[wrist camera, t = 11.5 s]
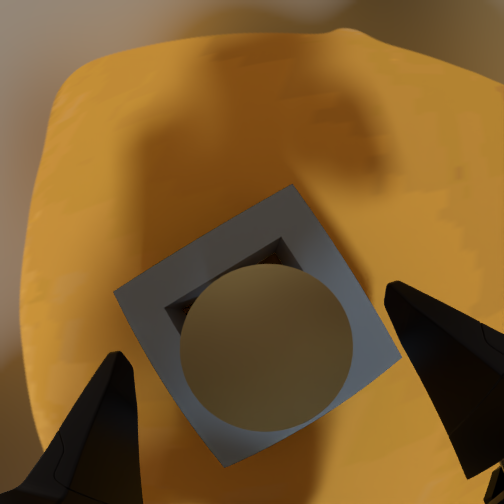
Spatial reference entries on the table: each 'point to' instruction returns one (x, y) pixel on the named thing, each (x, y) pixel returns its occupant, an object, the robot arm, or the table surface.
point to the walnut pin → (266, 347)
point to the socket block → (232, 258)
